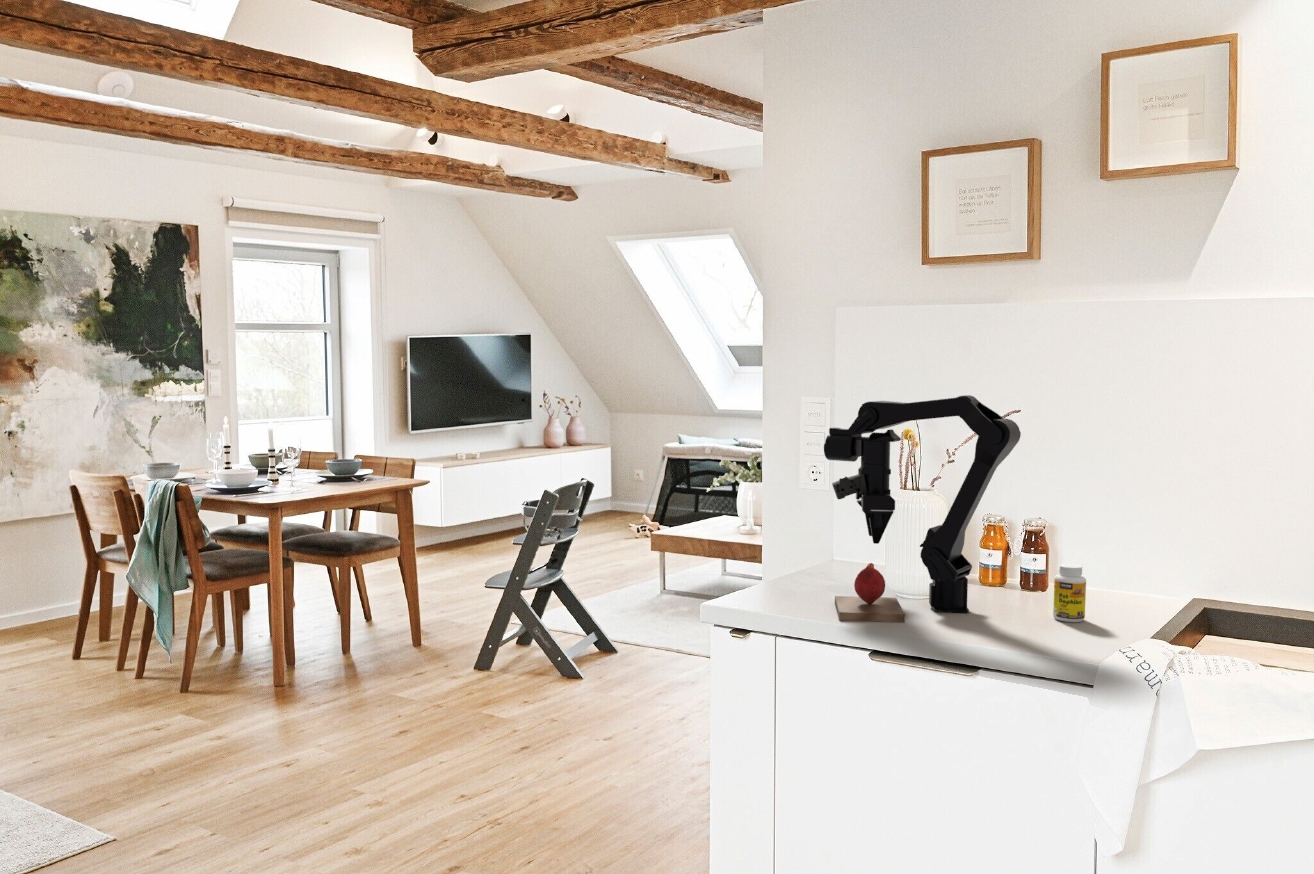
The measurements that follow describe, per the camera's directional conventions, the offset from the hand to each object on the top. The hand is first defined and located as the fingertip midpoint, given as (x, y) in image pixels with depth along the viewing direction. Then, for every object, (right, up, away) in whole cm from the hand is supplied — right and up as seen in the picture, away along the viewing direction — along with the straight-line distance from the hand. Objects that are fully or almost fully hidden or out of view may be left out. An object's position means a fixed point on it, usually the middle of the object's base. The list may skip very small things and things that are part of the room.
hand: (873, 539), depth 219 cm
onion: (-3, -12, -12) cm, 17 cm away
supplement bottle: (+33, -14, -17) cm, 40 cm away
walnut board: (-3, -13, -12) cm, 18 cm away
